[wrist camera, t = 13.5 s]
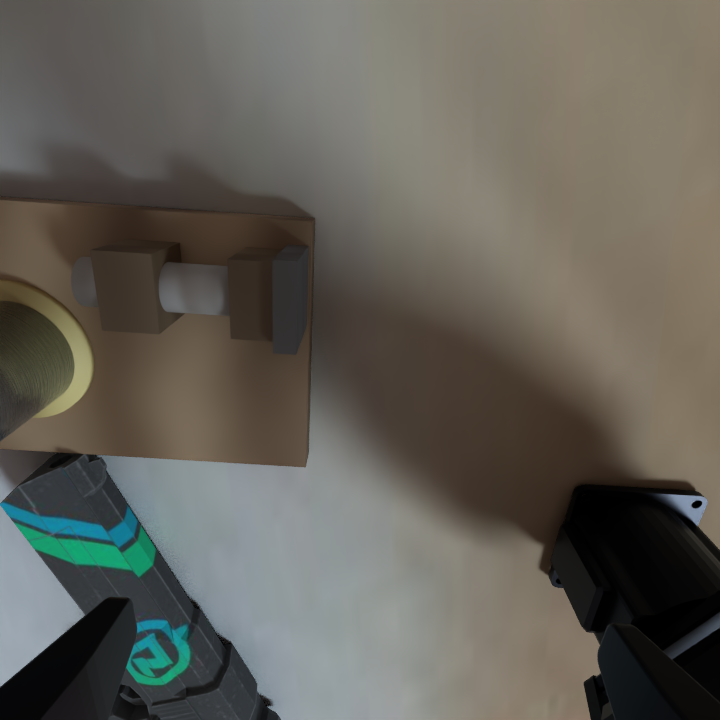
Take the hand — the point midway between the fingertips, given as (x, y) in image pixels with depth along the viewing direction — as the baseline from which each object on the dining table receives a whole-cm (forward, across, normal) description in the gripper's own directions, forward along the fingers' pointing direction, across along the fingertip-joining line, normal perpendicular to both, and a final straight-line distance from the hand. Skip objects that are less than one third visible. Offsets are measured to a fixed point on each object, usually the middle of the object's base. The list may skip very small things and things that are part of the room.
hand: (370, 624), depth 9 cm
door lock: (+13, +10, 0) cm, 16 cm away
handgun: (+14, +14, +20) cm, 28 cm away
